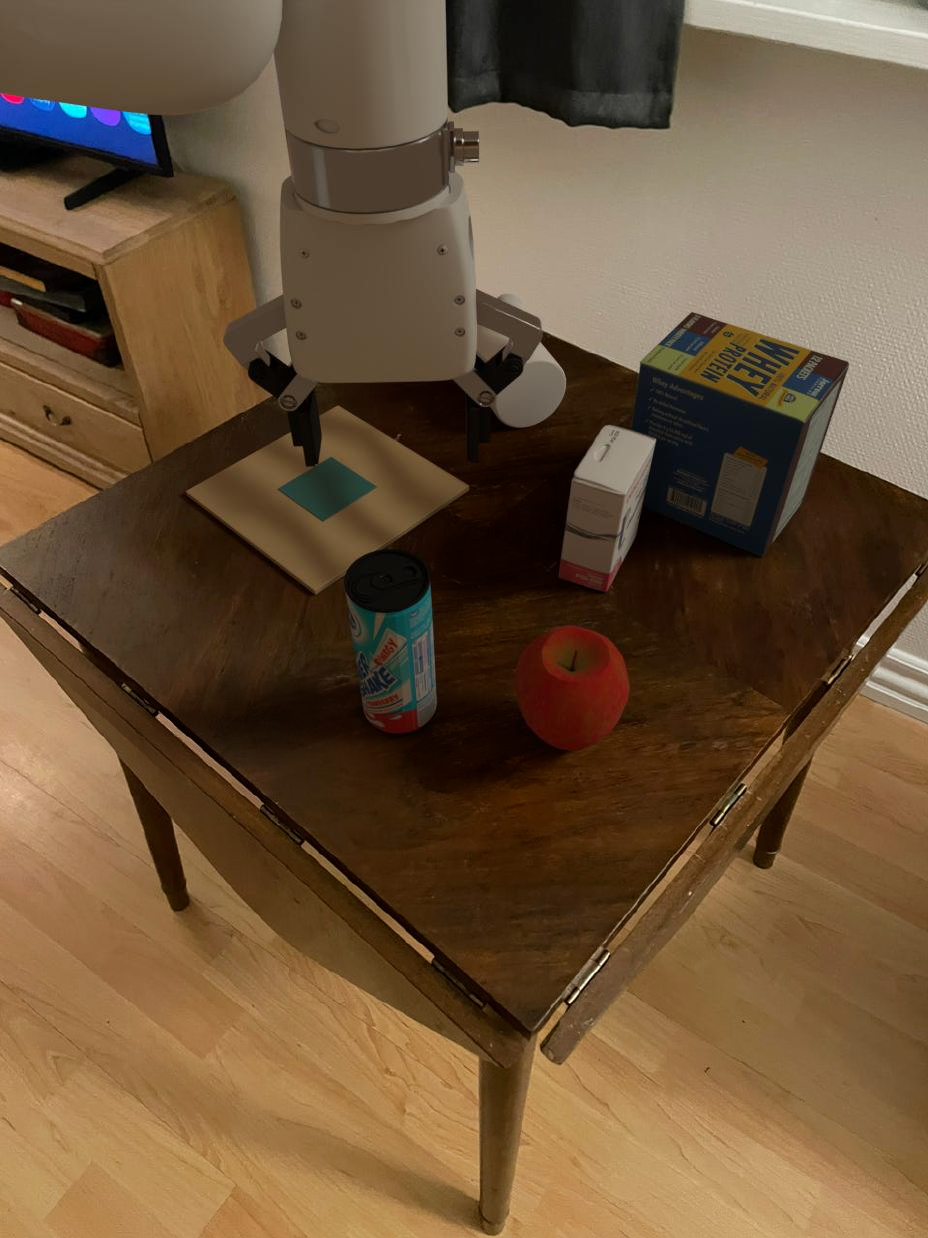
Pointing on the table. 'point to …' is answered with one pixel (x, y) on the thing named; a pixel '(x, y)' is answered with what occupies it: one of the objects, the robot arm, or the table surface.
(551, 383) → the mug
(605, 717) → the apple
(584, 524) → the ink box
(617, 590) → the table surface
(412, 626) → the beverage can
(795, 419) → the protein box
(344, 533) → the cork mat
